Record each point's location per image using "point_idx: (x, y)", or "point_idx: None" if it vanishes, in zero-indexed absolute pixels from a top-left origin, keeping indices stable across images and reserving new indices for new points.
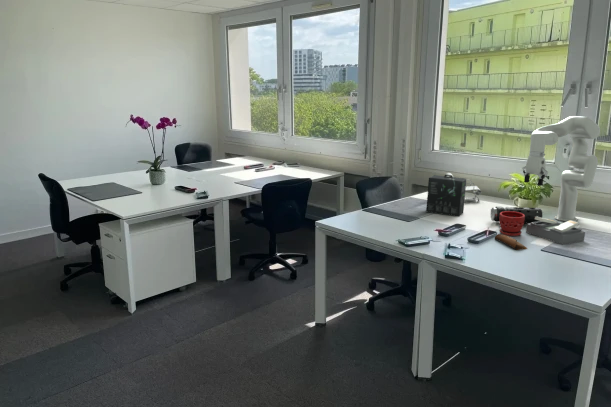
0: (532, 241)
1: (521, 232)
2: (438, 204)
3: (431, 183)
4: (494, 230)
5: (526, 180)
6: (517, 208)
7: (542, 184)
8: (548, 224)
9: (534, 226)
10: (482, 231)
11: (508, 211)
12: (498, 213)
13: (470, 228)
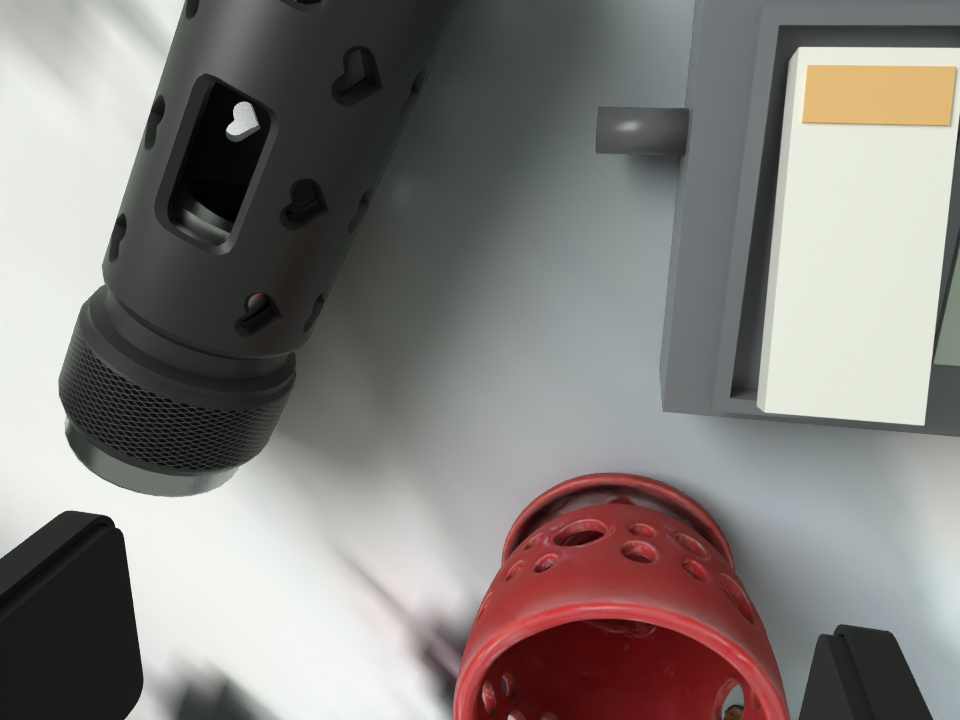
0: (930, 586)
1: (722, 534)
2: None
3: None
4: (459, 594)
5: (88, 710)
6: (189, 142)
7: (896, 661)
8: None
9: (795, 421)
10: (441, 703)
11: (484, 672)
12: (234, 466)
13: (324, 714)
